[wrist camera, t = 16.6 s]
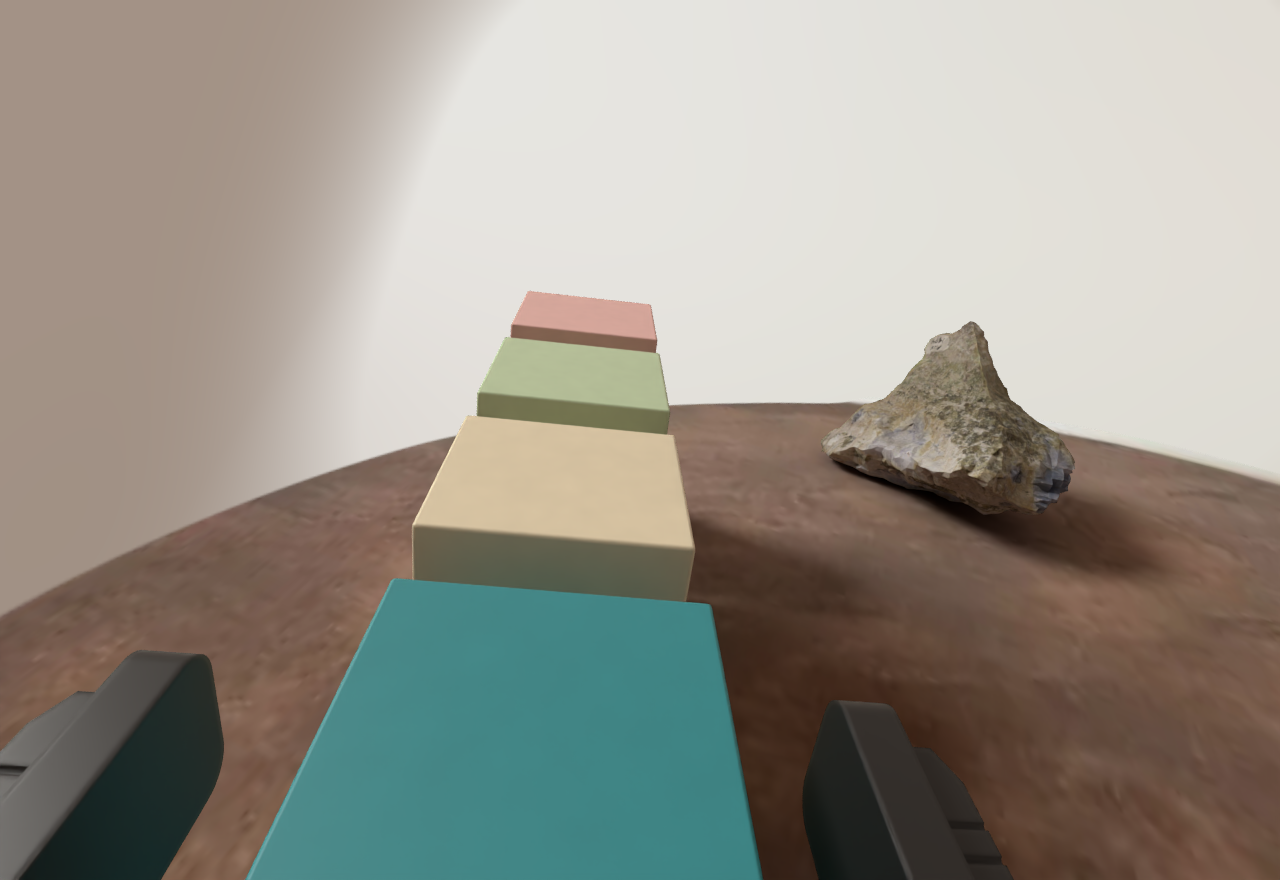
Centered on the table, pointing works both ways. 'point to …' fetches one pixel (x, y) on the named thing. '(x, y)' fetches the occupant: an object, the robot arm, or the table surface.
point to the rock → (957, 434)
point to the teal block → (522, 746)
